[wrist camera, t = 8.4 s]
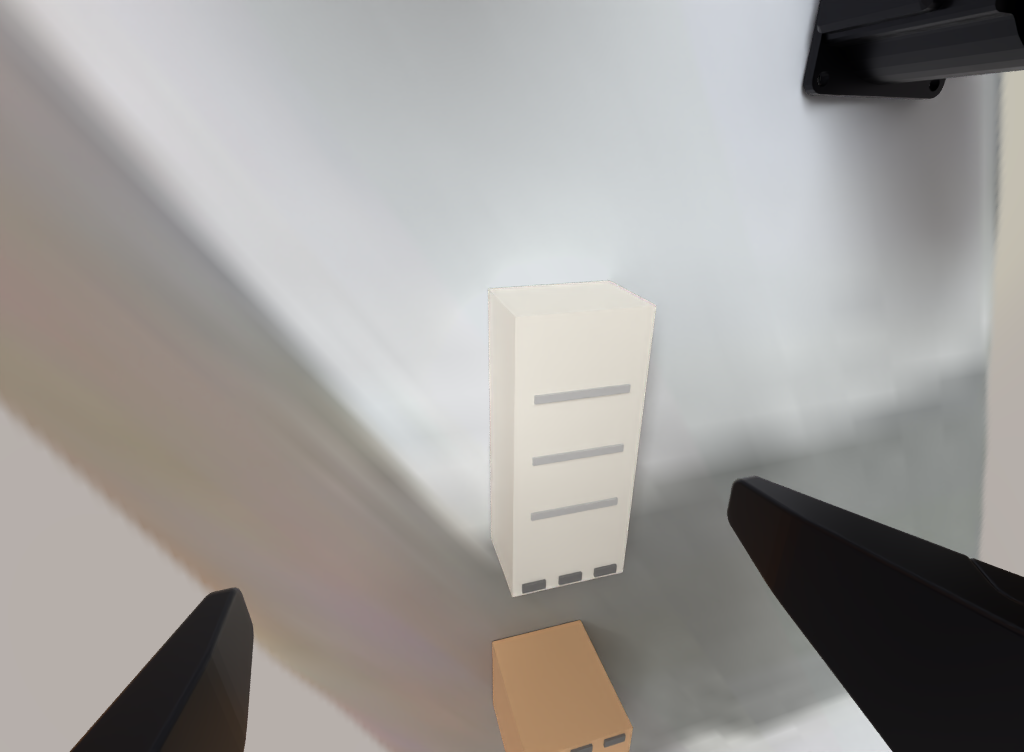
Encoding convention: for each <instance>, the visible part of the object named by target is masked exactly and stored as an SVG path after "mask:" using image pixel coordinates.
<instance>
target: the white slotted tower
mask: <svg viewBox="0 0 1024 752" xmlns="http://www.w3.org/2000/svg"><path fill="white" fill-rule="evenodd" d="M655 312H656V305H654V304H653V303H651V302H649V301H647V300H645V299H643V298H641V297H639V296H638V295H636V294H634V293H632V292H630V291H628V290H626V289H624V288H623V287H621V286H619V285H617V284H615V283H613V282H611V281H595V282H580V283H565V284H550V285H535V286H520V287H505V288H490V289H488V317H489V402H490V487H491V540H492V542H493V545H494V548H495V551H496V553H497V556H498V559H499V562H500V564H501V567H502V570H503V573H504V575H505V578H506V581H507V584H508V586H509V589H510V592H511V595H512V597H516V596H520V595H524V594H529V593H533V592H538V591H542V590H547V589H551V588H555V587H560V586H564V585H569V584H573V583H577V582H582V581H586V580H591V579H595V578H599V577H604V576H608V575H613V574H617V573H622V572H623V566H624V558H625V550H626V542H627V535H628V527H629V519H630V511H631V503H632V495H633V487H634V479H635V471H636V463H637V455H638V447H639V439H640V431H641V423H642V415H643V407H644V399H645V391H646V383H647V376H648V368H649V360H650V352H651V344H652V336H653V328H654V320H655Z"/></svg>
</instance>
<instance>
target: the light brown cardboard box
mask: <svg viewBox="0 0 1024 752" xmlns="http://www.w3.org/2000/svg"><path fill="white" fill-rule="evenodd" d="M492 657H493V705H494V709H495V713H496V717H497V721H498V725H499V728H500V732H501V736H502V740H503V744H504V748H505V752H629V749H630V742H631V736H632V730H633V727H632V725H631V723H630V721H629V719H628V717H627V715H626V713H625V710H624V708H623V706H622V704H621V702H620V700H619V698H618V696H617V694H616V692H615V690H614V688H613V686H612V684H611V682H610V680H609V678H608V676H607V674H606V672H605V669H604V667H603V665H602V663H601V661H600V659H599V657H598V655H597V653H596V651H595V649H594V647H593V645H592V643H591V641H590V639H589V637H588V635H587V633H586V630H585V628H584V626H583V624H582V622H581V620H578V621H574V622H570V623H566V624H562V625H558V626H554V627H550V628H546V629H542V630H538V631H534V632H530V633H526V634H521V635H517V636H513V637H509V638H505V639H501V640H497V641H493V642H492Z"/></svg>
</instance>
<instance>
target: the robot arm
mask: <svg viewBox="0 0 1024 752" xmlns="http://www.w3.org/2000/svg"><path fill="white" fill-rule="evenodd" d="M1019 70H1024V0H821V1H820V5H819V10H818V15H817V20H816V25H815V29H814V34H813V39H812V44H811V49H810V53H809V58H808V63H807V68H806V73H805V77H804V89H805V91H806V92H807V94H810V95H821V96H848V97H874V98H900V99H931V98H934V97H936V96H937V95H938V94H939V93H940V92H941V90H942V88H943V86H944V83H945V79H946V78H952V77H962V76H971V75H981V74H991V73H1000V72H1010V71H1019ZM819 75H820V82H819V85H818V77H819ZM929 85H930V86H929ZM727 516H728V520H729V523H730V525H731V527H732V528H733V530H734V532H735V533H736V535H737V537H738V538H739V540H740V541H741V543H742V545H743V546H744V548H745V549H746V551H747V553H748V554H749V556H750V558H751V559H752V561H753V562H754V564H755V566H756V567H757V569H758V570H759V572H760V574H761V575H762V577H763V579H764V580H765V582H766V583H767V585H768V586H769V588H770V589H771V591H772V592H773V594H774V595H775V596H776V598H777V599H778V601H779V602H780V603H781V605H782V606H783V607H784V609H785V610H786V611H787V613H788V614H789V615H790V617H791V618H792V619H793V621H794V622H795V623H796V625H797V626H798V627H799V629H800V630H801V631H802V633H803V634H804V635H805V637H806V638H807V639H808V640H809V642H810V643H811V644H812V646H813V647H814V648H815V650H816V651H817V652H818V654H819V655H820V656H821V658H822V659H823V660H824V662H825V663H826V664H827V666H828V667H829V668H830V670H831V671H832V672H833V674H834V675H835V676H836V678H837V679H838V680H839V681H840V683H841V684H842V685H843V687H844V688H845V689H846V691H847V692H848V693H849V695H850V696H851V697H852V699H853V700H854V701H855V703H856V704H857V705H858V707H859V708H860V709H861V711H862V712H863V713H864V715H865V716H866V717H867V719H868V720H869V721H870V723H871V724H872V725H873V726H874V728H875V729H876V730H877V732H878V733H879V734H880V736H881V737H882V738H883V740H884V741H885V742H886V744H887V745H888V746H889V748H890V749H891V750H892V752H1024V577H1022V576H1019V575H1017V574H1014V573H1011V572H1008V571H1006V570H1003V569H1000V568H998V567H995V566H992V565H990V564H987V563H985V562H982V561H979V560H977V559H974V558H971V559H970V558H969V557H968V556H966V555H963V554H961V553H958V552H955V551H953V550H950V549H947V548H945V547H942V546H939V545H937V544H934V543H932V542H929V541H926V540H924V539H921V538H918V537H916V536H913V535H910V534H908V533H905V532H902V531H900V530H897V529H895V528H892V527H889V526H887V525H884V524H881V523H879V522H876V521H873V520H871V519H868V518H865V517H863V516H860V515H858V514H855V513H852V512H850V511H847V510H844V509H842V508H839V507H836V506H834V505H831V504H829V503H826V502H823V501H821V500H818V499H815V498H813V497H810V496H807V495H805V494H802V493H800V492H797V491H794V490H792V489H789V488H786V487H784V486H781V485H778V484H776V483H773V482H771V481H768V480H765V479H763V478H760V477H757V476H749V477H744V478H739V479H737V480H735V481H734V483H733V484H732V488H731V494H730V499H729V504H728V510H727ZM253 638H254V634H253V625H252V621H251V618H250V615H249V612H248V609H247V607H246V604H245V601H244V598H243V595H242V593H241V591H240V590H239V589H238V588H229V589H224V590H220V591H215V592H212V593H210V594H208V595H207V596H206V597H205V598H204V599H203V601H202V602H201V603H200V604H199V605H198V606H197V607H196V609H194V611H193V612H192V613H191V614H190V615H189V616H188V618H187V619H186V620H185V621H184V622H183V623H182V624H181V625H180V627H179V628H178V629H177V630H176V631H175V632H174V633H173V635H172V636H171V637H170V638H169V639H168V640H167V641H166V643H165V644H164V645H163V646H162V647H161V648H160V649H159V651H158V652H157V653H156V654H155V655H154V656H153V657H152V659H151V660H150V661H149V662H148V663H147V664H146V665H145V667H144V668H143V669H142V670H141V671H140V672H139V673H138V675H137V676H136V677H135V678H134V679H133V680H132V681H131V682H130V684H129V685H128V686H127V687H126V688H125V689H124V690H123V692H122V693H121V694H120V695H119V696H118V697H117V698H116V699H115V701H114V702H113V703H112V704H111V705H110V706H109V707H108V709H107V710H106V711H105V712H104V713H103V714H102V716H101V717H100V718H99V719H98V720H97V721H96V722H95V723H94V725H93V726H92V727H91V728H90V729H89V730H88V731H87V733H86V734H85V735H84V736H83V737H82V738H81V739H80V741H79V742H78V743H77V744H76V745H75V746H74V747H73V748H72V750H71V751H70V752H244V746H245V740H246V730H247V718H248V706H249V692H250V679H251V665H252V652H253Z"/></svg>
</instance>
